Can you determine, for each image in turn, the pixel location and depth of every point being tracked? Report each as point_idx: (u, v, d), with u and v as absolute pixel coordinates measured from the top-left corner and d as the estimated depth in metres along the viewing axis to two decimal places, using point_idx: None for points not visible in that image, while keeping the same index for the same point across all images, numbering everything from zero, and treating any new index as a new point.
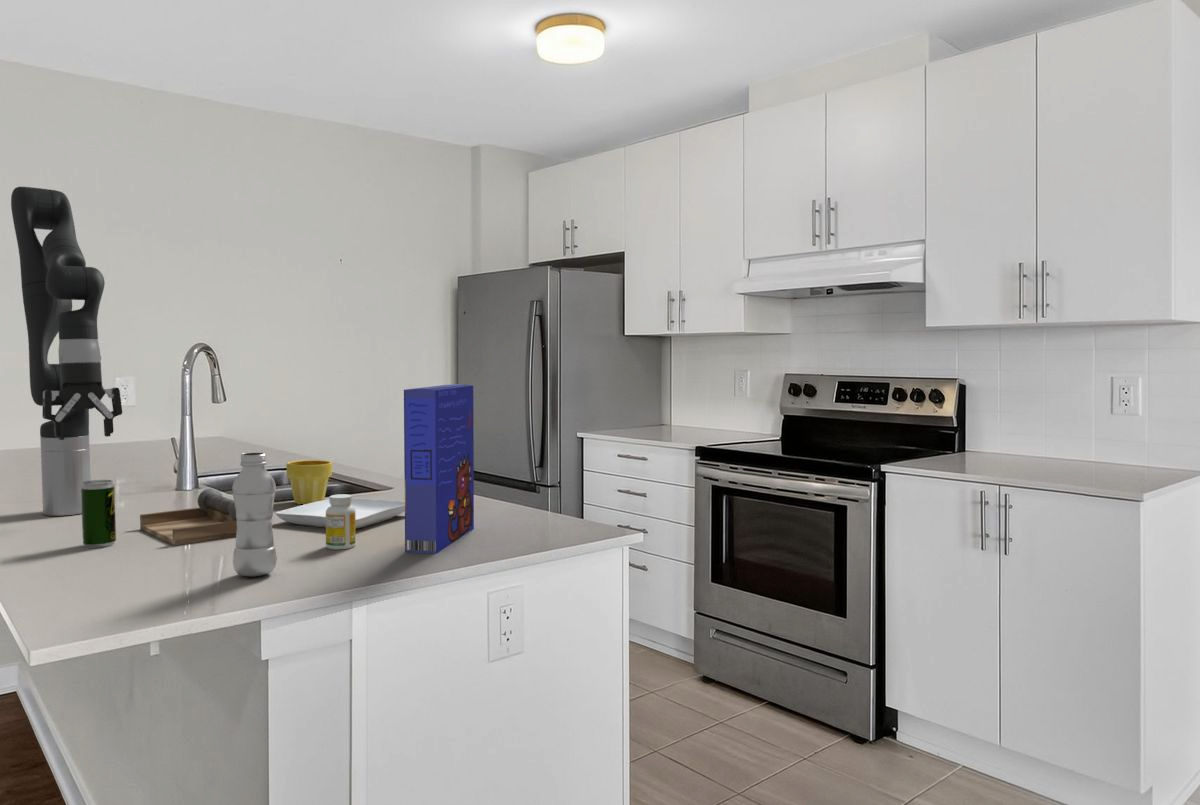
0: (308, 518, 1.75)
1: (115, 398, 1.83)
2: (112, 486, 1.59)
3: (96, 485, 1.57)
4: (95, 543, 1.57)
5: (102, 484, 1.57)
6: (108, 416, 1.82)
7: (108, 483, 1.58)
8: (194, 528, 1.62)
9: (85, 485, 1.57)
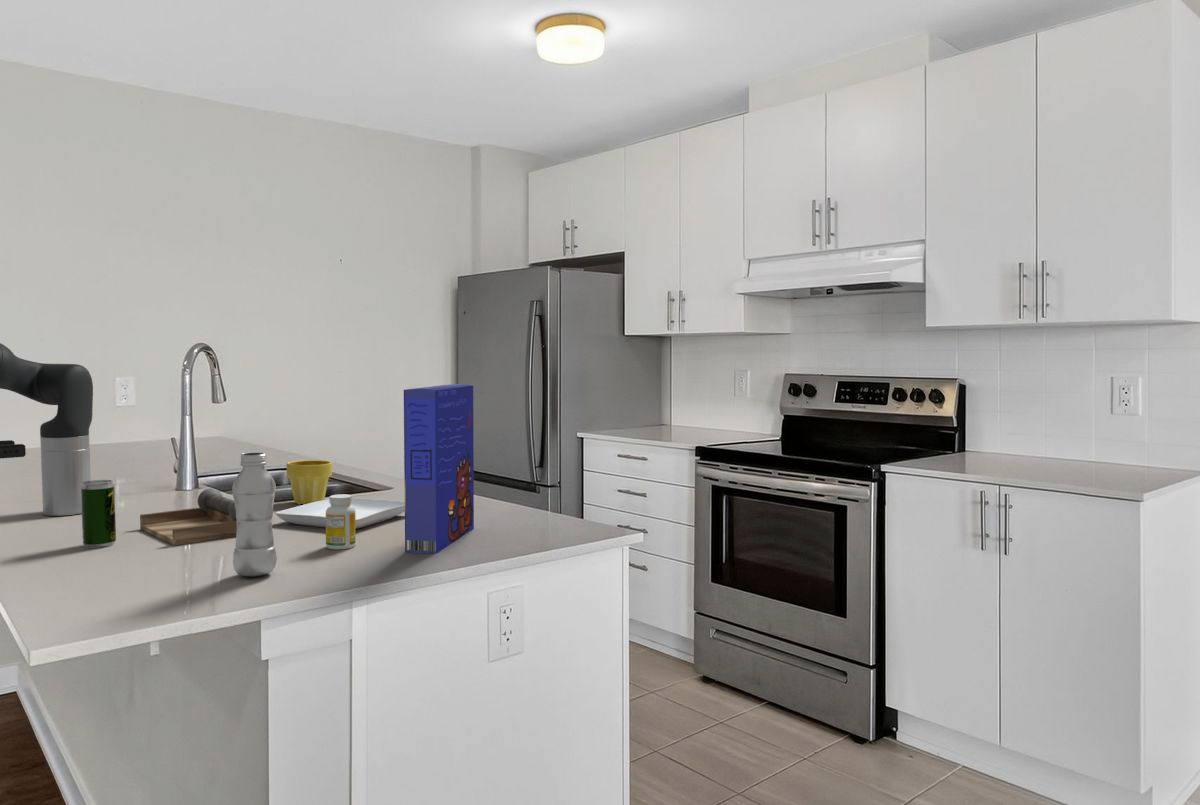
0: (308, 518, 1.75)
1: None
2: (112, 486, 1.59)
3: (96, 485, 1.57)
4: (95, 543, 1.57)
5: (102, 484, 1.57)
6: None
7: (108, 483, 1.58)
8: (194, 528, 1.62)
9: (85, 485, 1.57)
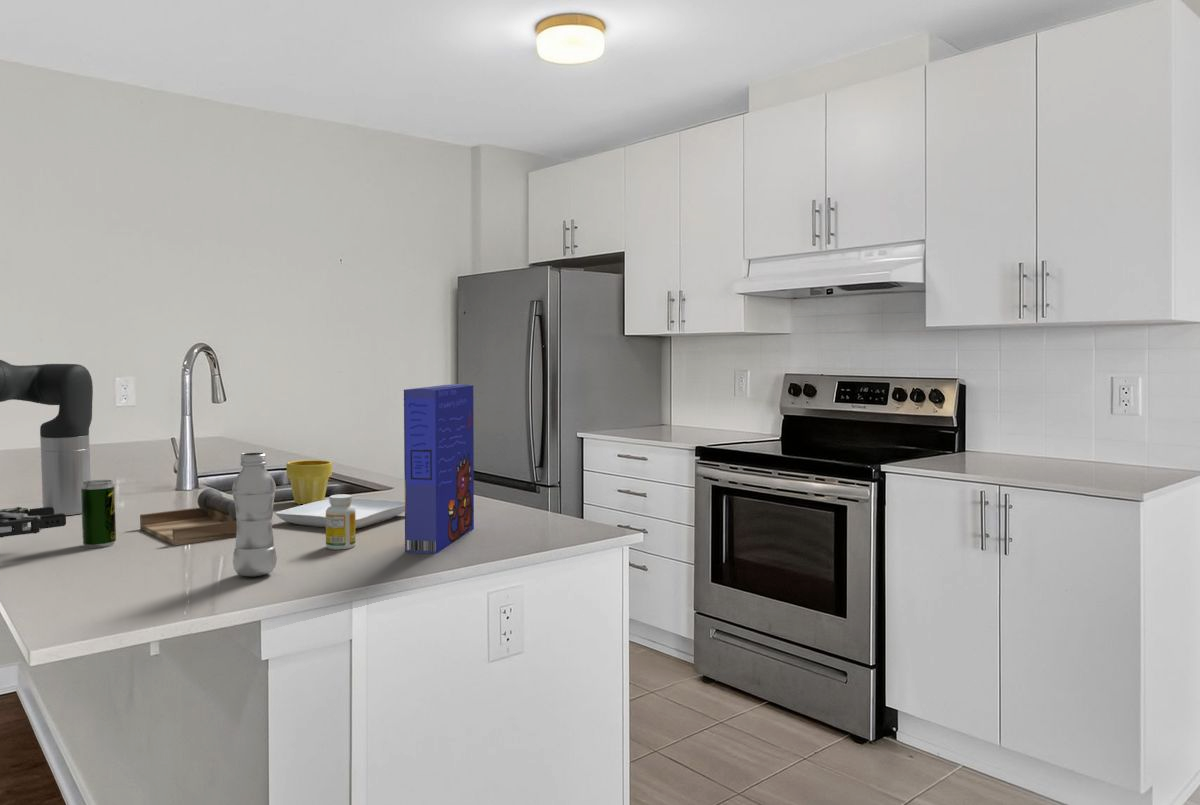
0: (308, 518, 1.75)
1: None
2: (112, 486, 1.59)
3: (96, 485, 1.57)
4: (95, 543, 1.57)
5: (102, 484, 1.57)
6: None
7: (108, 483, 1.58)
8: (194, 528, 1.62)
9: (85, 485, 1.57)
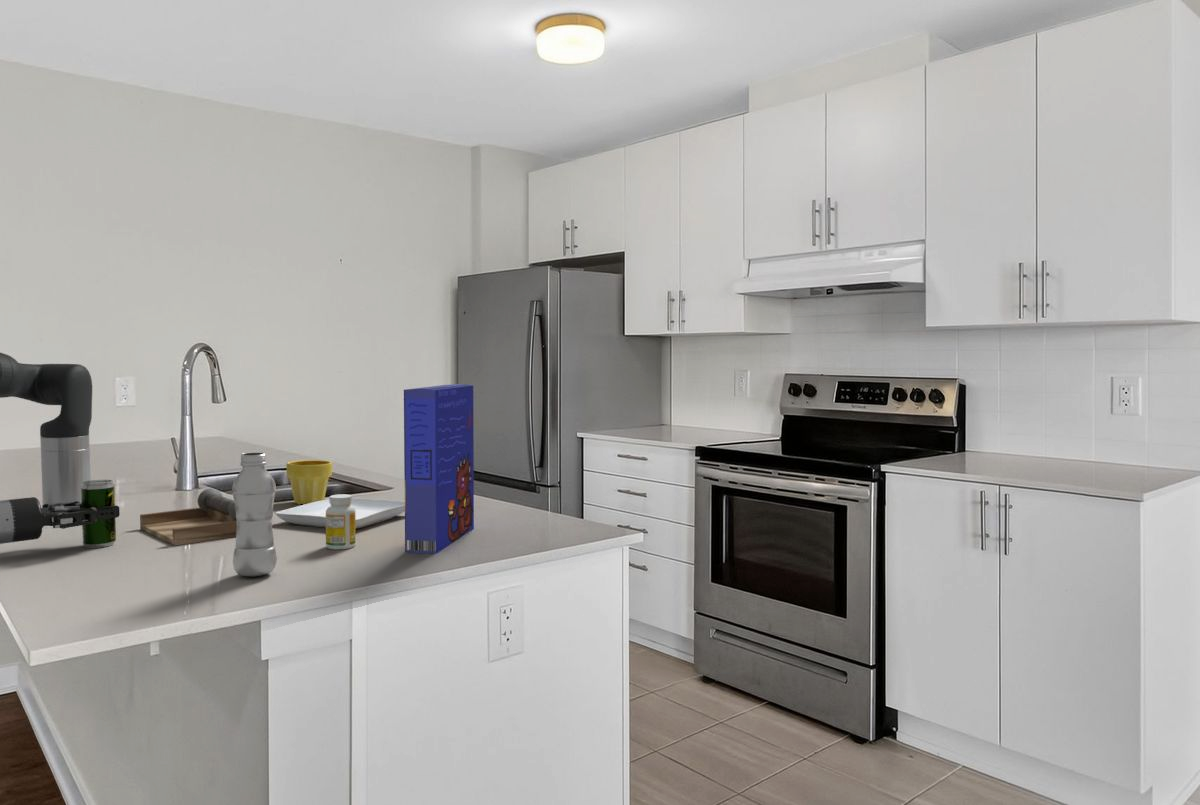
0: (308, 518, 1.75)
1: None
2: (112, 486, 1.59)
3: (96, 485, 1.57)
4: (95, 543, 1.57)
5: (102, 484, 1.57)
6: None
7: (108, 483, 1.58)
8: (194, 528, 1.62)
9: (85, 485, 1.57)
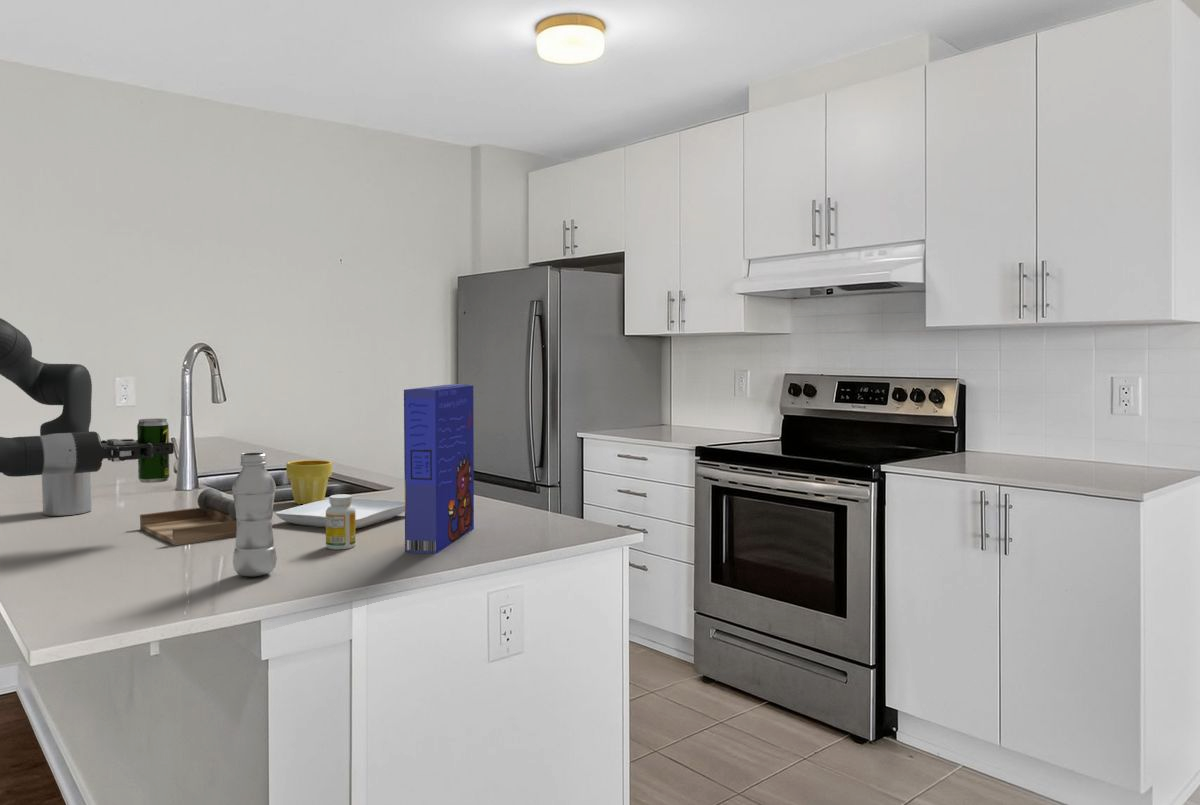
0: (308, 518, 1.75)
1: None
2: (166, 424, 1.65)
3: (152, 422, 1.63)
4: (150, 478, 1.63)
5: (157, 421, 1.63)
6: None
7: (163, 421, 1.64)
8: (194, 528, 1.62)
9: (141, 422, 1.63)
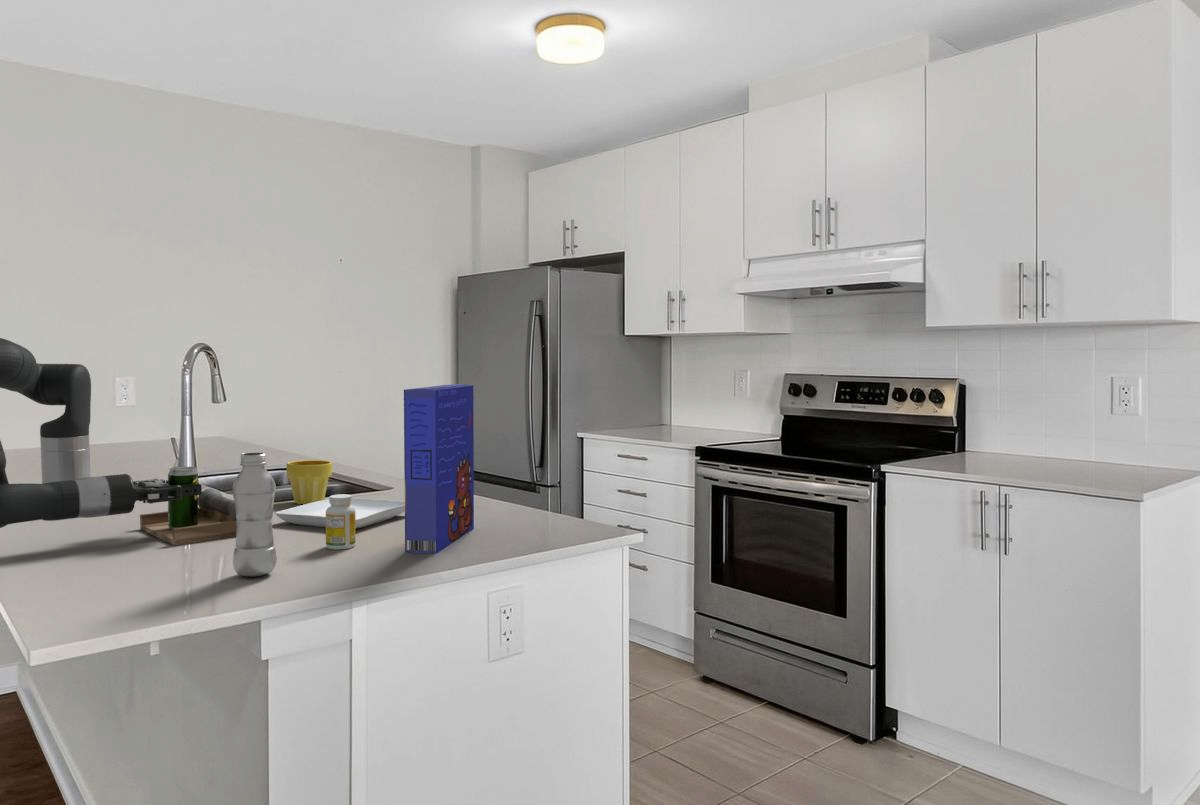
0: (308, 518, 1.75)
1: None
2: (196, 473, 1.70)
3: (183, 471, 1.67)
4: (180, 526, 1.67)
5: (188, 471, 1.68)
6: None
7: (193, 470, 1.69)
8: (194, 528, 1.62)
9: (172, 471, 1.67)
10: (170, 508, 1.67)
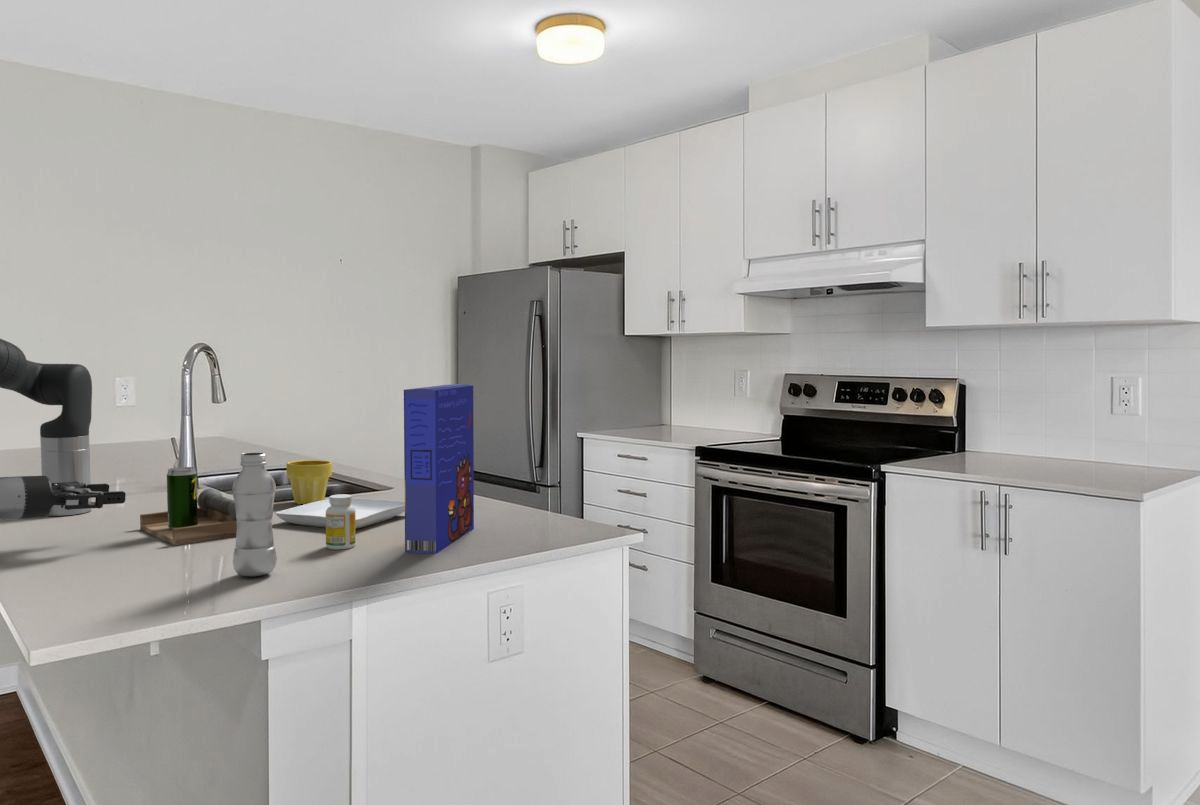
0: (308, 518, 1.75)
1: None
2: (195, 473, 1.70)
3: (181, 471, 1.67)
4: (180, 526, 1.67)
5: (186, 471, 1.68)
6: None
7: (191, 470, 1.69)
8: (194, 528, 1.62)
9: (171, 471, 1.67)
10: (169, 508, 1.68)
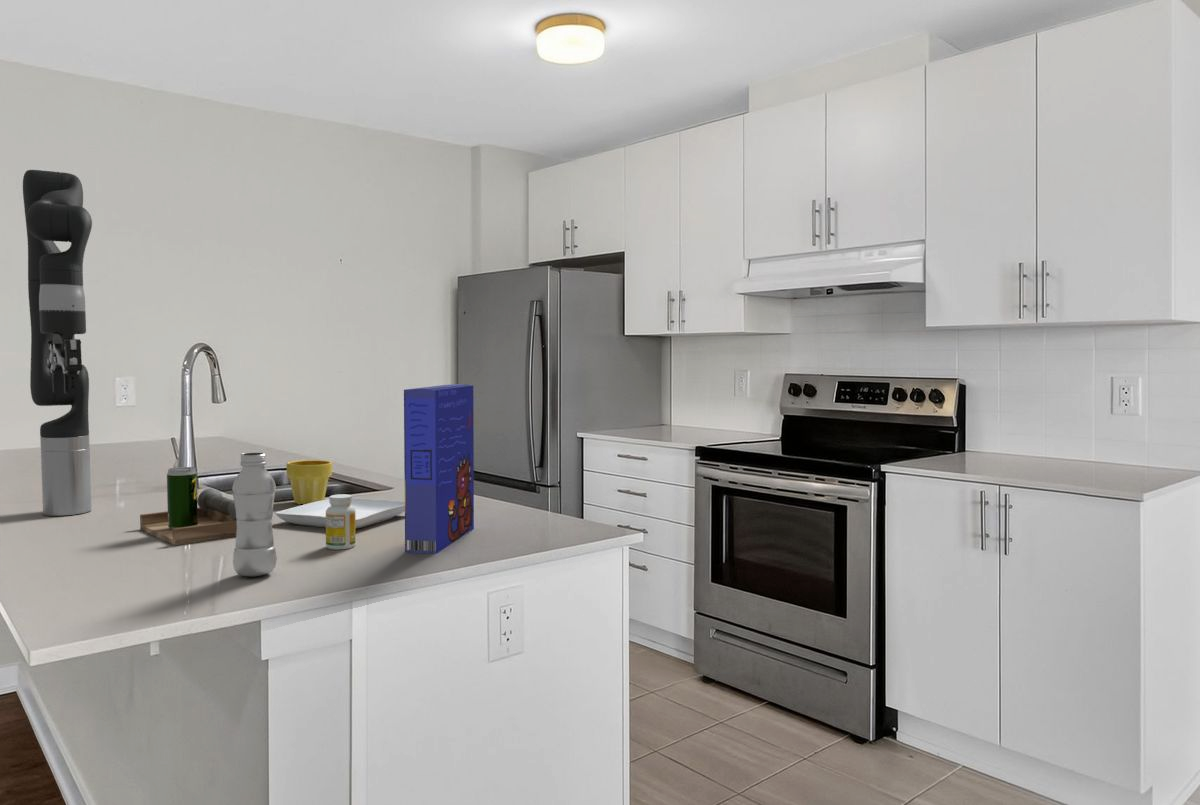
0: (308, 518, 1.75)
1: (65, 351, 1.59)
2: (195, 473, 1.70)
3: (181, 471, 1.67)
4: (180, 526, 1.67)
5: (186, 471, 1.68)
6: (63, 371, 1.61)
7: (192, 470, 1.69)
8: (194, 528, 1.62)
9: (171, 471, 1.67)
10: (169, 508, 1.68)
